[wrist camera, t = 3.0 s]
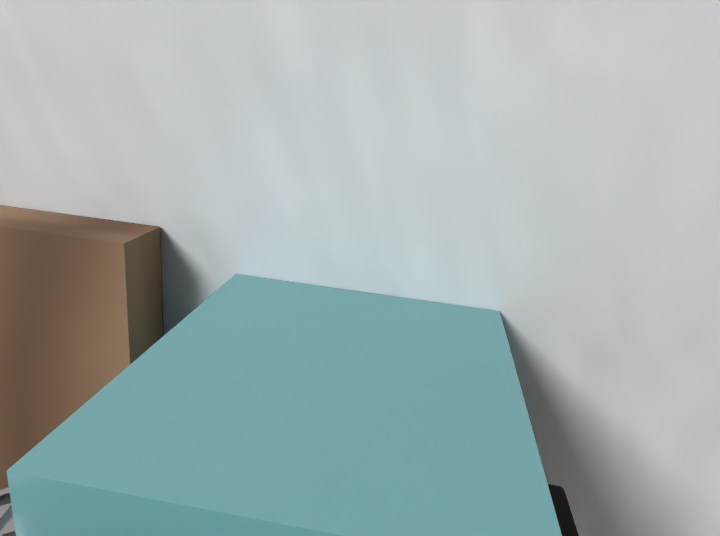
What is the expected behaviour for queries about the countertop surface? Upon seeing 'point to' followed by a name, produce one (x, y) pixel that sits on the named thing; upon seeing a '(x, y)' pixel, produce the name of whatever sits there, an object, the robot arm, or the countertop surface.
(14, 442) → the walnut board
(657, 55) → the countertop surface
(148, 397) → the aqua foam cube
